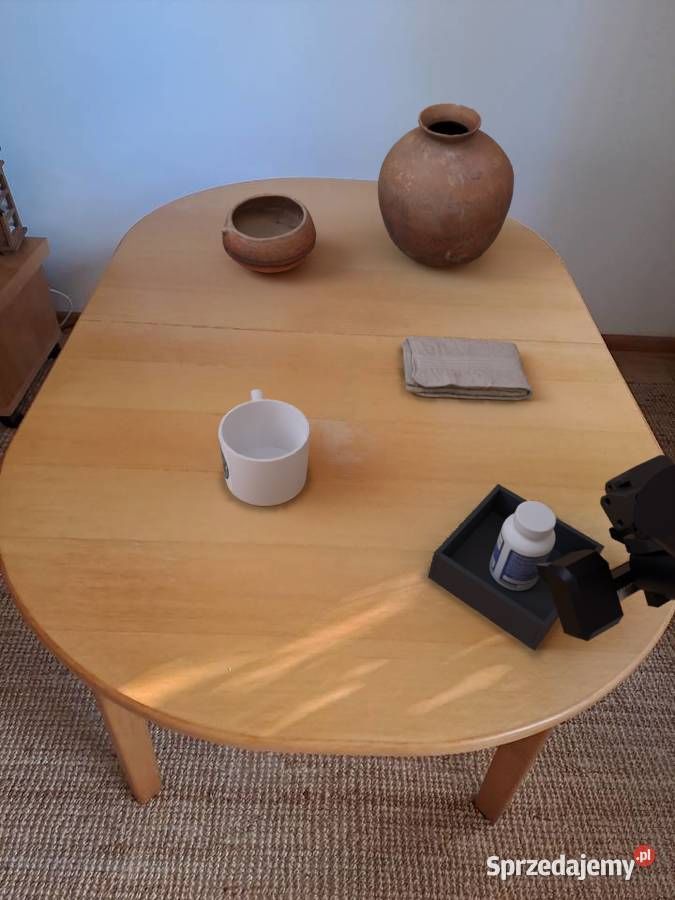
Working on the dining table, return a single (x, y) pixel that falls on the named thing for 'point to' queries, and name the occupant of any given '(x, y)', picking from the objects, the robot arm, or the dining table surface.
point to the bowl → (269, 232)
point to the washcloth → (464, 368)
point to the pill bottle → (523, 546)
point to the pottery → (445, 188)
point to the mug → (264, 450)
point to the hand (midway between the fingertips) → (575, 550)
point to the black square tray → (470, 580)
